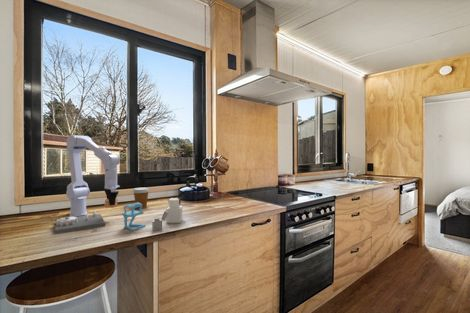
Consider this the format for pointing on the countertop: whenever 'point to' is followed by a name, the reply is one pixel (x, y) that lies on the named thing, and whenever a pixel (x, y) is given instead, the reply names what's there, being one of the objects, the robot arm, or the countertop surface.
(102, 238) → the countertop surface
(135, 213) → the chair
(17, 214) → the countertop surface
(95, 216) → the gear board
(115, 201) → the orange gear
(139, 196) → the disposable coffee cup
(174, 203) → the medicine bottle
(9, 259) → the countertop surface
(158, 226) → the lighter
